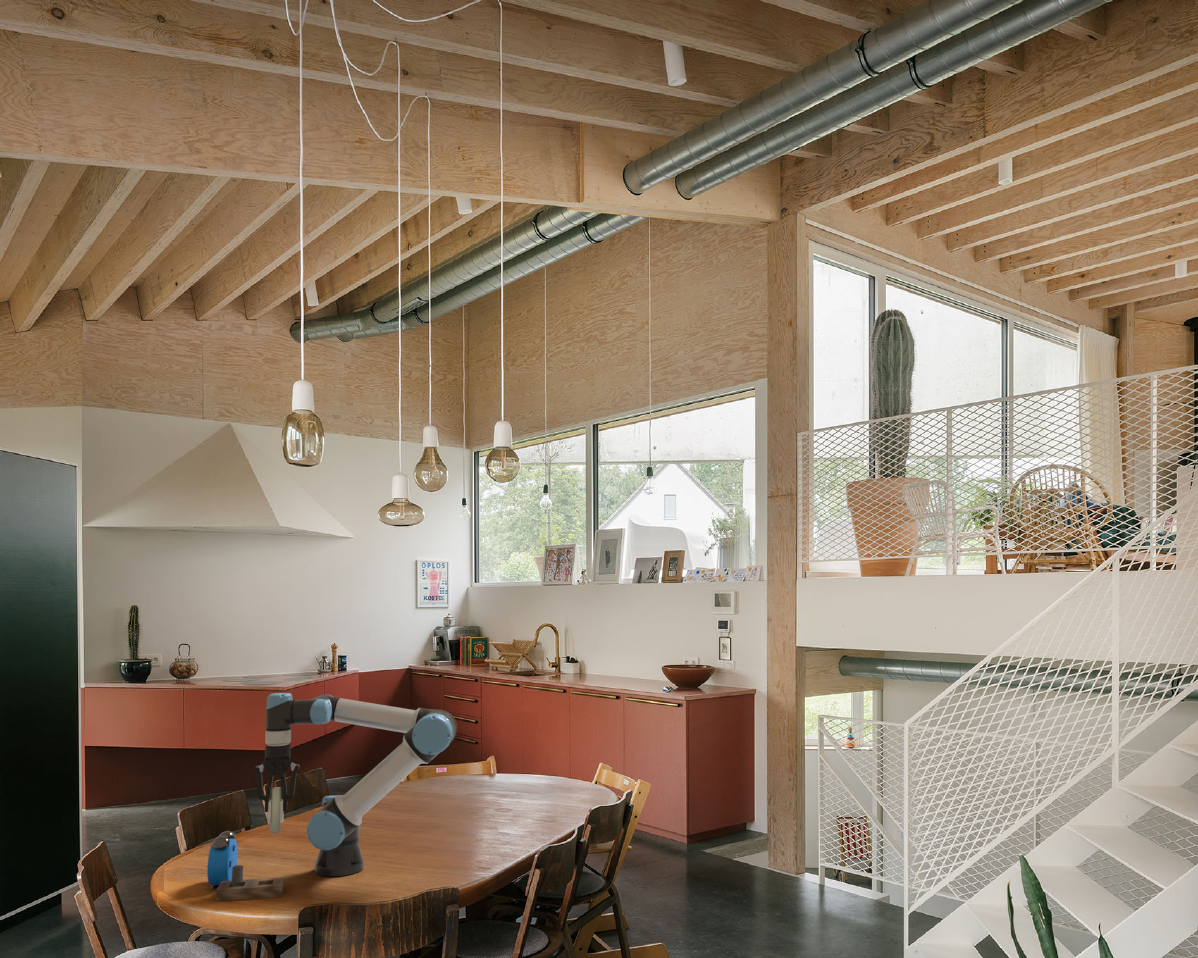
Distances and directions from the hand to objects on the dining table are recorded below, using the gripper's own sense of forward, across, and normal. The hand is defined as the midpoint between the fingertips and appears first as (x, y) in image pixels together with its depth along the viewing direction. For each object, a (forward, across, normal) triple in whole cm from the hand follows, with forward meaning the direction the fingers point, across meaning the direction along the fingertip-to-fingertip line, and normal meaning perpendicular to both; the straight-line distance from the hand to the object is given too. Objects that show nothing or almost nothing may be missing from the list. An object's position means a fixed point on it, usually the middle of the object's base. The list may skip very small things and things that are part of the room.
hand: (275, 822), depth 293 cm
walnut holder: (+18, +5, +10) cm, 21 cm away
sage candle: (+3, 0, 0) cm, 3 cm away
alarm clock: (+18, +15, -2) cm, 24 cm away
